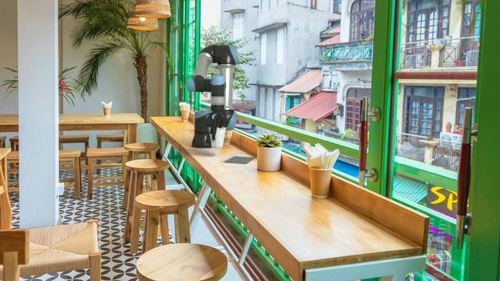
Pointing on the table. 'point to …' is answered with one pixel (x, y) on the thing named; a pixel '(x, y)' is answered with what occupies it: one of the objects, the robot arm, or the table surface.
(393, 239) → the table surface
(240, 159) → the mat
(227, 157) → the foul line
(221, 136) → the cup
